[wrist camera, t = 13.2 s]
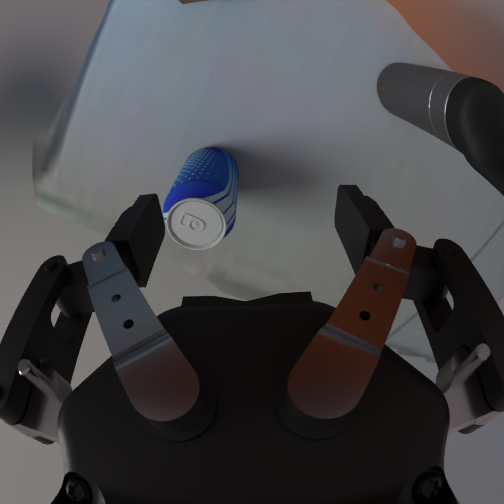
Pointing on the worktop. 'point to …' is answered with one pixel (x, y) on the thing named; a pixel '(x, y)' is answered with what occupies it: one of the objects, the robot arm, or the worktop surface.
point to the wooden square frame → (189, 1)
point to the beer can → (203, 199)
